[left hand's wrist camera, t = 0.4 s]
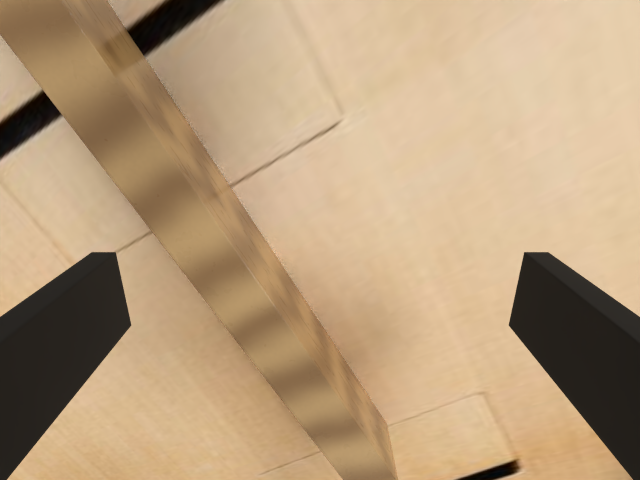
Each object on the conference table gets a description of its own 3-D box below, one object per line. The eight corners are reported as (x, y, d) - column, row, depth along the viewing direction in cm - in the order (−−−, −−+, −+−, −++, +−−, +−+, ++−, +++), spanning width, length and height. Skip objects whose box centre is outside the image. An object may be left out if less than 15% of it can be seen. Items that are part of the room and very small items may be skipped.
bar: (-9, -66, 30) (-118, -118, 23) (37, -105, 29) (-59, -172, 22) (352, 438, 49) (358, 499, 42) (386, 424, 49) (399, 484, 41)
